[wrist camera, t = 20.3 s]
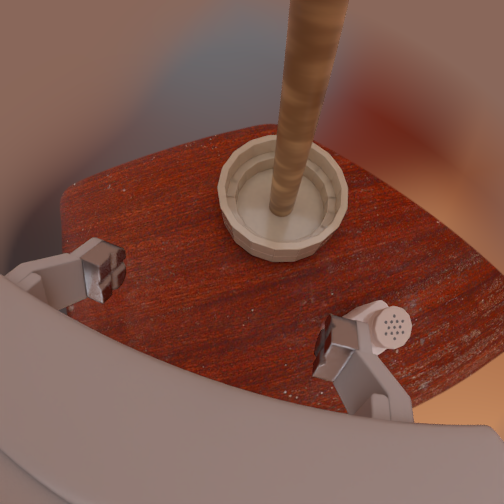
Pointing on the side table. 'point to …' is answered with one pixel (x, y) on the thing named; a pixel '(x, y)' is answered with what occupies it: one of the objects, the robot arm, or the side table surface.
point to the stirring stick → (303, 92)
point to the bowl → (258, 197)
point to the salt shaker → (383, 324)
